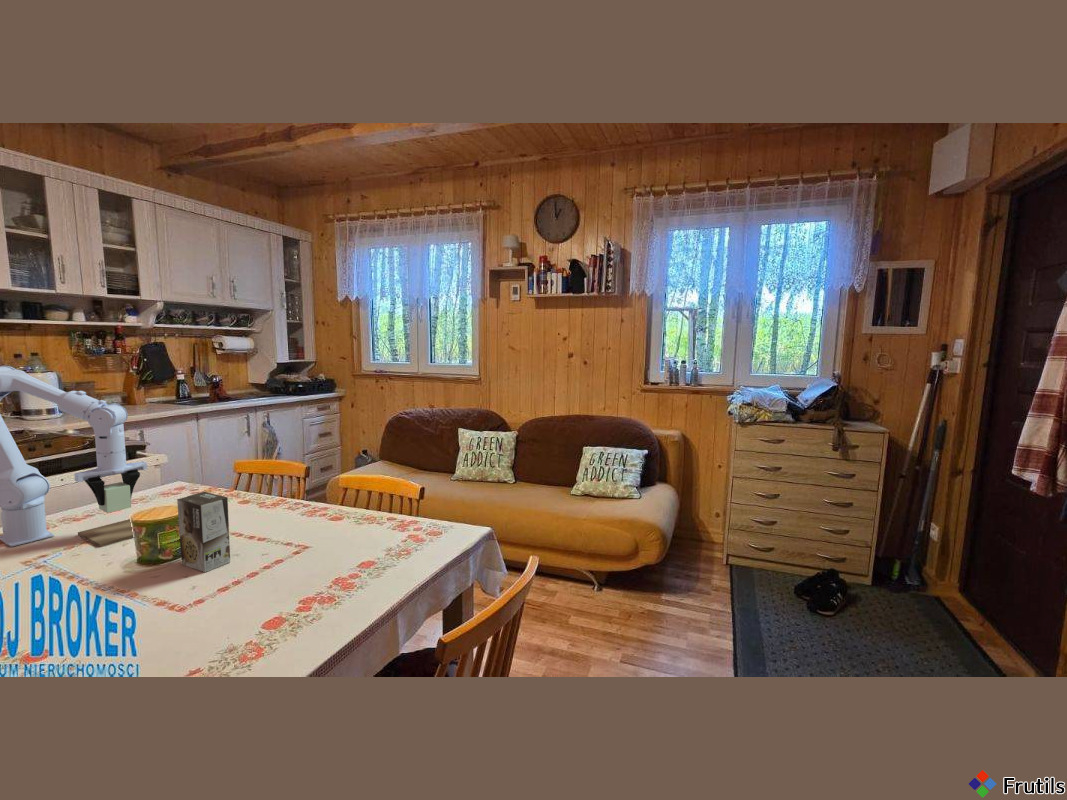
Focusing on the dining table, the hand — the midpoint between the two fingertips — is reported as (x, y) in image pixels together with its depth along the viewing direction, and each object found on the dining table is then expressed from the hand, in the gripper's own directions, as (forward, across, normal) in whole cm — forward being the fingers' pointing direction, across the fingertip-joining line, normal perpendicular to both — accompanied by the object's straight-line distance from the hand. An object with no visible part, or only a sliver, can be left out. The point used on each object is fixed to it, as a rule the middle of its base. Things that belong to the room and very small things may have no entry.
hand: (114, 501), depth 127 cm
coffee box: (+9, +4, -36) cm, 37 cm away
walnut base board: (+9, +1, 0) cm, 9 cm away
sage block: (+2, 0, 0) cm, 2 cm away
